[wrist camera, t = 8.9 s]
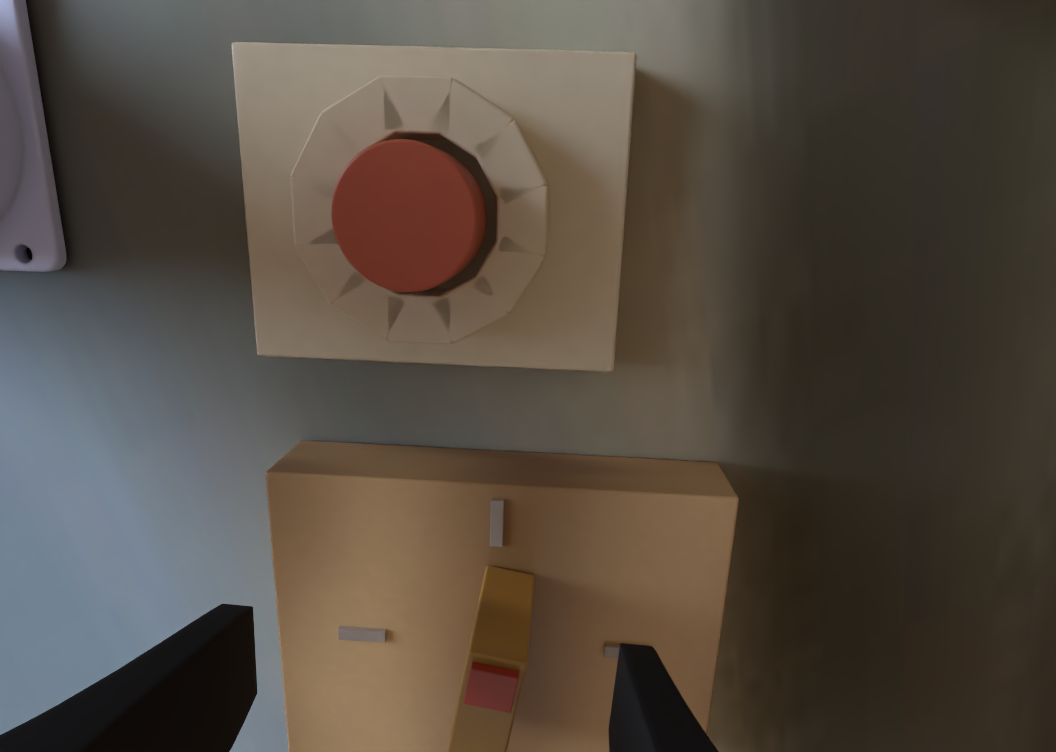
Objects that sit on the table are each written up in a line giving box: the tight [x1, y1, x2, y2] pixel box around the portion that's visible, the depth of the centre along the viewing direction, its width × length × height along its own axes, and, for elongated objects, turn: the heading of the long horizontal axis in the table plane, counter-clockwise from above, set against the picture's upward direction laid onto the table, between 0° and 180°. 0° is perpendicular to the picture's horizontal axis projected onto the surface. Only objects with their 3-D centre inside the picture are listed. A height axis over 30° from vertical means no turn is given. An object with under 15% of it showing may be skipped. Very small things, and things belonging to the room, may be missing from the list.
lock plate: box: [266, 440, 739, 752], centre depth 19 cm, size 13×10×3 cm
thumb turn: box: [447, 566, 534, 752], centre depth 16 cm, size 5×1×4 cm, turn 168°
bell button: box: [331, 139, 487, 292], centre depth 14 cm, size 3×3×2 cm
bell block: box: [231, 42, 637, 372], centre depth 16 cm, size 10×8×3 cm
